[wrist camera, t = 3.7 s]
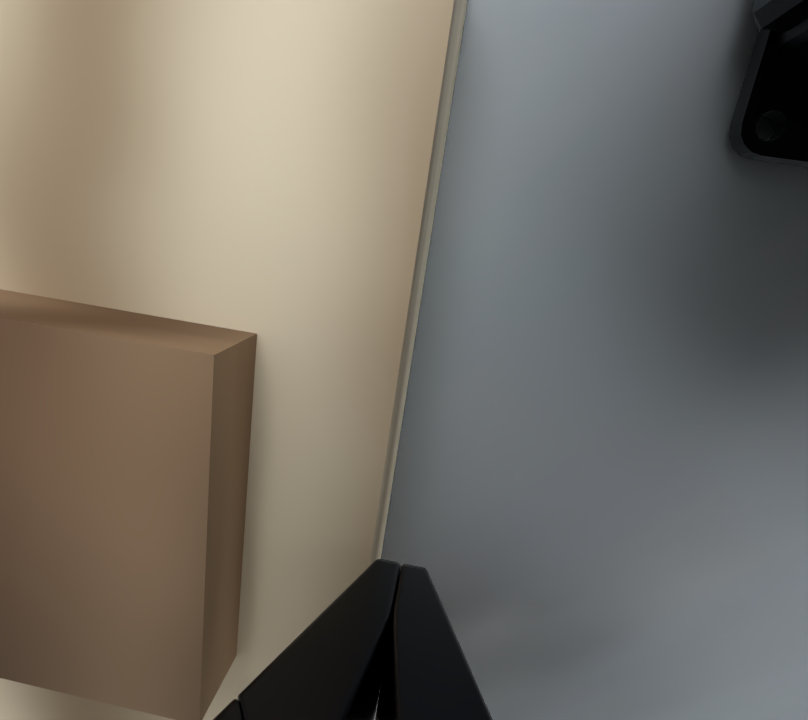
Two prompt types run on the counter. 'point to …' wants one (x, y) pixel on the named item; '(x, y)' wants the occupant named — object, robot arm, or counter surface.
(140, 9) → the board
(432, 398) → the counter surface
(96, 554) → the walnut coaster
